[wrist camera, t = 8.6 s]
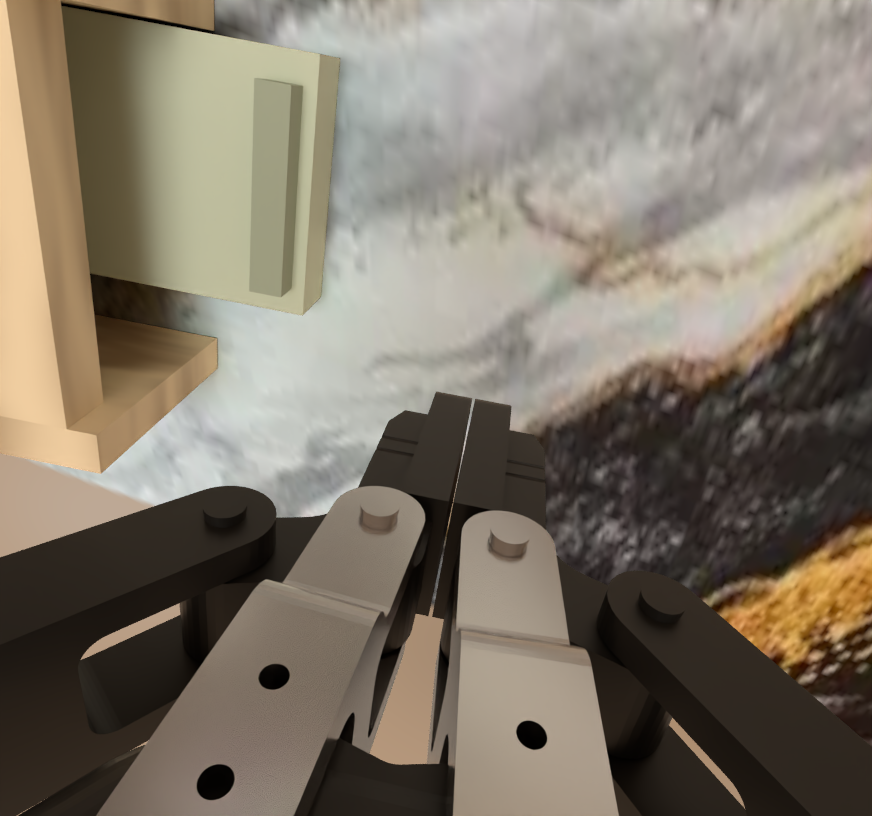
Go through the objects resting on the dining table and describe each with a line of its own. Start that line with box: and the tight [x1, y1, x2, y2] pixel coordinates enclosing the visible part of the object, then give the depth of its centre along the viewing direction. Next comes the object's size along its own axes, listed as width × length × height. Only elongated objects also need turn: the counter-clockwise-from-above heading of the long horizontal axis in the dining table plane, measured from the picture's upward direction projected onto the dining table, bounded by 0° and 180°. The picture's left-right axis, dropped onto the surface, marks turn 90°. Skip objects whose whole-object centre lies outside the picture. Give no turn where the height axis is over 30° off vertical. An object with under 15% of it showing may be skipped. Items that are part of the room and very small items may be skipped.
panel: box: [61, 6, 340, 316], centre depth 23 cm, size 11×9×4 cm
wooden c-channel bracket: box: [0, 0, 217, 474], centre depth 21 cm, size 8×15×9 cm, turn 171°
